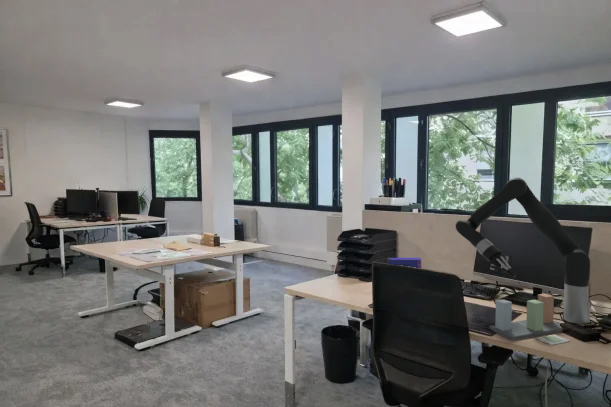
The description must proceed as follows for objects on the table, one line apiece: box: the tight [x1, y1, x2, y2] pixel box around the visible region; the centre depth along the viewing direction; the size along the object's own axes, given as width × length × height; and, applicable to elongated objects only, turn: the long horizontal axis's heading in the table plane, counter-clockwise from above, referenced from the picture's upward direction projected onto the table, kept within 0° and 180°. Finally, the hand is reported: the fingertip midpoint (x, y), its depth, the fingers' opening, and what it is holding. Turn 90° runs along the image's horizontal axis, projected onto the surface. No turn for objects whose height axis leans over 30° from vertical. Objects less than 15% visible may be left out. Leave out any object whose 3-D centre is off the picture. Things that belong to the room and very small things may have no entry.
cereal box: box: [387, 257, 422, 269], centre depth 218 cm, size 17×5×24 cm, turn 84°
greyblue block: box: [494, 299, 513, 331], centre depth 173 cm, size 4×4×12 cm
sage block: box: [526, 299, 544, 331], centre depth 171 cm, size 4×4×12 cm
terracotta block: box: [537, 293, 555, 323], centre depth 180 cm, size 4×4×12 cm
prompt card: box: [536, 333, 571, 346], centre depth 164 cm, size 10×7×1 cm
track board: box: [488, 319, 563, 341], centre depth 175 cm, size 31×13×2 cm, turn 108°
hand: (514, 276), depth 187 cm, fingers closed
